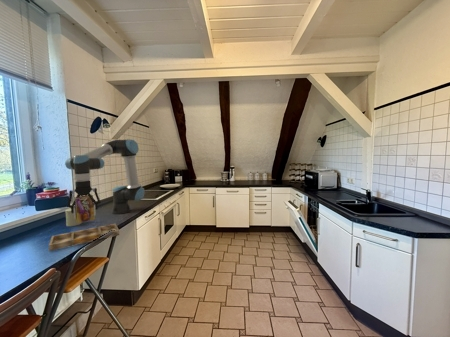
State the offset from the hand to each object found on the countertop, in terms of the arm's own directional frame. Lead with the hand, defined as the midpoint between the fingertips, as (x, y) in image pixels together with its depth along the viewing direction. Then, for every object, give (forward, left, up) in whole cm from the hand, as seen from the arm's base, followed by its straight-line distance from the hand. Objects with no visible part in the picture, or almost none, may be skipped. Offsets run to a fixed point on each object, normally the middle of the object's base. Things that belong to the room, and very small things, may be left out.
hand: (85, 216), depth 122 cm
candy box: (0, 0, -3) cm, 3 cm away
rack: (0, 0, -14) cm, 14 cm away
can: (+7, -37, -14) cm, 40 cm away
